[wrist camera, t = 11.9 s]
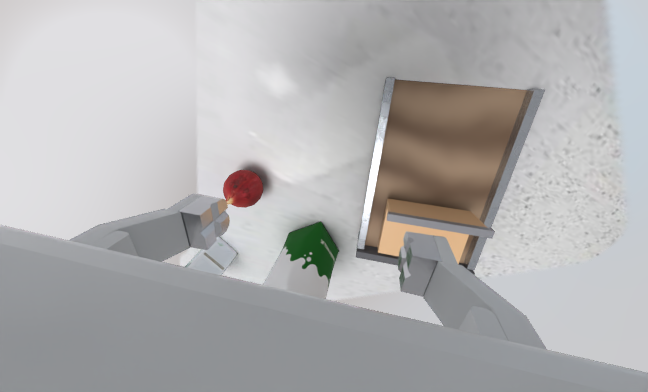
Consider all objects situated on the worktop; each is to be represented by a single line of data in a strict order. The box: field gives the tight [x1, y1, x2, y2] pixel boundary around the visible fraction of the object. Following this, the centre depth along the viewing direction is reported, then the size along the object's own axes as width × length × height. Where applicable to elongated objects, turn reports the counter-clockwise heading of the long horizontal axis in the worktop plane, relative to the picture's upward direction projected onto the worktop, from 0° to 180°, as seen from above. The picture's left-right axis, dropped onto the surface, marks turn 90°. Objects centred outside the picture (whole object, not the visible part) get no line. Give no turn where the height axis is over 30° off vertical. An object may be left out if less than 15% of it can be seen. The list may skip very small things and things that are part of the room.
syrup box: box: [185, 236, 237, 275], centre depth 43 cm, size 6×6×14 cm
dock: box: [356, 77, 545, 275], centre depth 32 cm, size 25×17×6 cm
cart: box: [378, 199, 495, 264], centre depth 31 cm, size 9×12×7 cm
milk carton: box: [263, 222, 339, 299], centre depth 35 cm, size 9×9×20 cm
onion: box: [223, 170, 263, 207], centre depth 36 cm, size 6×6×8 cm
